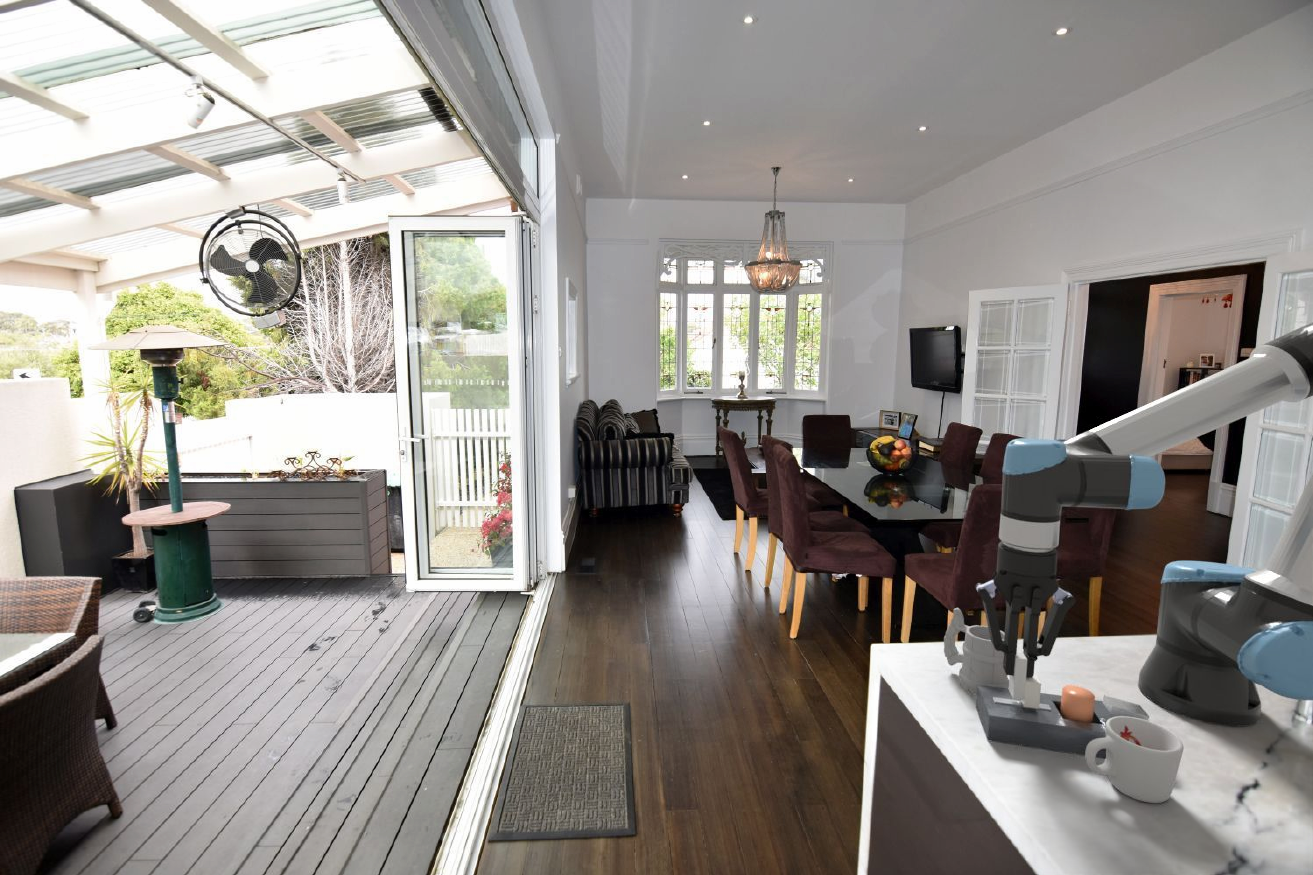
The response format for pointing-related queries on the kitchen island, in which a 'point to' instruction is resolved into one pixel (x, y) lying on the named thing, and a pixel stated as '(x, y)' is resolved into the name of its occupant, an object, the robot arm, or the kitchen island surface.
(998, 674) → the mug
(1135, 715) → the rocker
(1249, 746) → the kitchen island surface
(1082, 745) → the console
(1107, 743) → the cup
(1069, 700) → the button
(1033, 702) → the slider
